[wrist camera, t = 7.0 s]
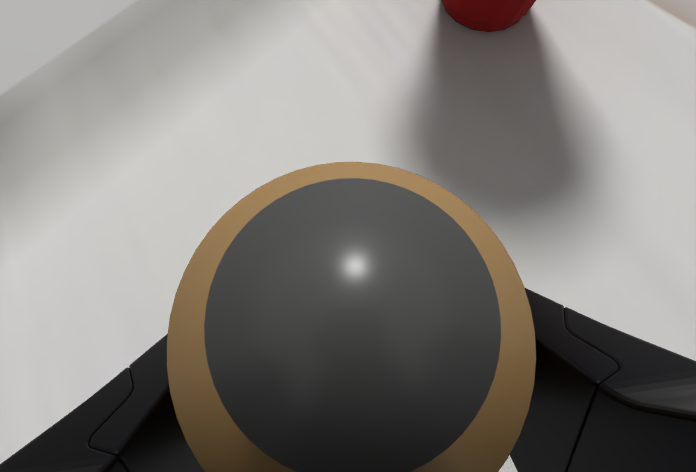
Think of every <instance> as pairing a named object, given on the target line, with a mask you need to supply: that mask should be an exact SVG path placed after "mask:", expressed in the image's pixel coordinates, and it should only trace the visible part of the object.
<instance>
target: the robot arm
mask: <svg viewBox="0 0 696 472" xmlns="http://www.w3.org/2000/svg"><path fill="white" fill-rule="evenodd" d="M525 292H526V295H527V298H528V301H529V305H530V308H531V313H532V319H533V325H534V331H535V345H536V366H535V379H534V387H533V392H532V396H531V401H530V406H529V410H528V413H527V416H526V419H525V421H524V424H523V427H522V430H521V433H520V435H519V437H518V439H517V441H516V443H515V445H514V447H513V449H512V451H511V453H510V457H511V459H512V461H513V463H514V465H515V467H516V469H517V471H518V472H696V361H694V360H691V359H689V358H686V357H684V356H681V355H679V354H676V353H674V352H671V351H669V350H666V349H664V348H661V347H659V346H656V345H654V344H651V343H649V342H646V341H643V340H641V339H638V338H636V337H633V336H631V335H629V334H626V333H624V332H621V331H619V330H616V329H614V328H611V327H609V326H607V325H604V324H602V323H600V322H598V321H595V320H593V319H591V318H589V317H586V316H584V315H582V314H580V313H578V312H576V311H574V310H571V309H569V308H567V307H565V308H564V307H563V305H561V304H558V303H556V302H554V301H552V300H550V299H548V298H546V297H543V296H541V295H539V294H537V293H535V292H533V291H531V290H528V289H526V288H525ZM167 337H168V334H167V335H166V336H164V337H163V338H162V339H161V340H159V341H158V342H157V343H156V344H155V345H153V346H152V347H151V348H150V349H149V350H147V351H146V352H145V353H144V354H143V355H141V356H140V357H139V358H138V359H137V360H135V361H134V362H133V363H132V364H131V365H130V366H129V367H130V368H126V369H124V370H123V371H122V372H121V373H120V374H118V375H117V376H116V377H115V378H114V379H112V380H111V381H110V382H109V383H108V384H106V385H105V386H104V387H103V388H101V389H100V390H99V391H98V392H96V393H95V394H94V395H93V396H91V397H90V398H89V399H88V400H86V401H85V402H84V403H82V404H81V405H80V406H78V407H77V408H76V409H74V410H73V411H72V412H70V413H69V414H68V415H66V416H65V417H64V418H62V419H61V420H60V421H58V422H57V423H56V424H54V425H53V426H51V427H50V428H49V429H47V430H46V431H45V432H43V433H42V434H41V435H39V436H38V437H37V438H35V439H34V440H32V441H31V442H30V443H28V444H27V445H26V446H24V447H23V448H22V449H20V450H19V451H18V452H16V453H15V454H13V455H12V456H11V457H9V458H8V459H7V460H5V461H4V462H3V463H1V464H0V472H205V471H204V470H203V469H202V467H201V466H200V464H199V462H198V461H197V459H196V457H195V456H194V454H193V452H192V450H191V449H190V447H189V445H188V444H187V441H186V439H185V437H184V434H183V432H182V429H181V427H180V424H179V422H178V420H177V417H176V413H175V409H174V405H173V401H172V398H171V394H170V387H169V379H168V371H167Z"/></svg>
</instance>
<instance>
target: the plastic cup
mask: <svg viewBox="0 0 696 472" xmlns="http://www.w3.org/2000/svg"><path fill="white" fill-rule="evenodd" d="M535 1H536V0H443V3H444V6H445V9H446V11H447V12H448V13H449V14H450V15H451V16H452V17H453V18H454V19H455V20H456V21H457V22H459V23H461V24H463V25H465V26H467V27H469V28H471V29H475V30H481V31H487V32H490V31H496V30H503V29H506V28H508V27H510V26H511V25H513V24H515V23H517V22H518V21H519V20H520V18H521V17H522V16H524V15H525V14H526V13H527V12H528V10H529V9H530V8H531V6H532V5H533V4H534V2H535Z"/></svg>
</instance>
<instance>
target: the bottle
mask: <svg viewBox="0 0 696 472" xmlns="http://www.w3.org/2000/svg"><path fill="white" fill-rule="evenodd" d="M535 366H536V345H535V331H534V325H533V319H532V313H531V308H530V305H529V301H528V298H527V295H526V292H525V288H524V285H523V283H522V281H521V278H520V276H519V274H518V272H517V269H516V267H515V265H514V263H513V261H512V259H511V258H510V256H509V254H508V253H507V251H506V249H505V248H504V246H503V244H502V243H501V241H500V240H499V239H498V238H497V236H496V235H495V234H494V232H493V231H492V230H491V229H490V227H489V226H488V225H487V224H486V223H485V222H484V221H483V220H482V219H481V218H480V217H479V216H478V215H477V214H476V212H475V211H474V210H473V209H471V208H470V207H469V206H468V205H466V204H465V203H464V202H463V201H461V200H460V199H459V198H458V197H457V196H455V195H454V194H452V193H450V192H449V191H447V190H446V189H444V188H443V187H441V186H439V185H438V184H436V183H434V182H432V181H430V180H427V179H425V178H423V177H421V176H419V175H417V174H414V173H411V172H408V171H405V170H402V169H399V168H395V167H390V166H385V165H381V164H374V163H363V162H336V163H329V164H321V165H315V166H311V167H307V168H304V169H300V170H296V171H293V172H291V173H288V174H286V175H283V176H281V177H278V178H276V179H274V180H272V181H270V182H268V183H266V184H265V185H263V186H261V187H259V188H257V189H256V190H254V191H253V192H251V193H250V194H249V195H247V196H246V197H244V198H243V199H241V200H240V201H239V202H238V203H237V204H235V205H234V206H233V207H232V208H231V209H230V210H229V211H227V212H226V213H225V214H224V215H223V216H222V217H221V218H220V220H219V221H218V222H217V223H216V224H215V225H214V226H213V227H212V228H211V230H210V231H209V232H208V233H207V235H206V236H205V238H204V239H203V241H202V242H201V243H200V245H199V246H198V248H197V249H196V251H195V253H194V254H193V256H192V258H191V260H190V262H189V264H188V266H187V267H186V269H185V271H184V274H183V277H182V279H181V282H180V284H179V287H178V289H177V292H176V295H175V299H174V303H173V307H172V311H171V315H170V321H169V329H168V337H167V371H168V379H169V387H170V394H171V398H172V401H173V405H174V409H175V413H176V417H177V420H178V422H179V424H180V427H181V429H182V432H183V434H184V437H185V439H186V441H187V444H188V445H189V447H190V449H191V450H192V452H193V454H194V456H195V457H196V459H197V461H198V462H199V464H200V466H201V467H202V469H203V470H204V471H205V472H498V471H499V470H500V468H501V467H502V466H503V464H504V463H505V461H506V460H507V458H508V456H509V455H510V453H511V451H512V449H513V447H514V445H515V443H516V441H517V439H518V437H519V435H520V433H521V430H522V427H523V424H524V421H525V419H526V416H527V413H528V410H529V406H530V401H531V396H532V392H533V387H534V379H535Z"/></svg>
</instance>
